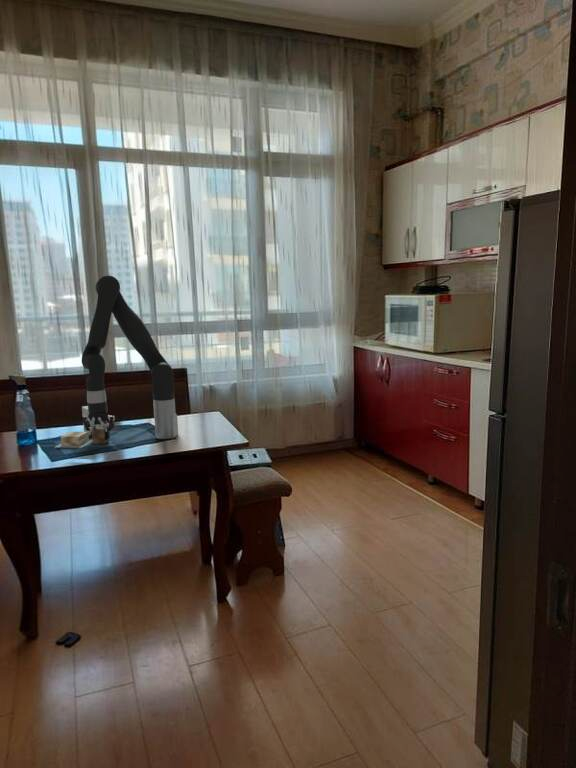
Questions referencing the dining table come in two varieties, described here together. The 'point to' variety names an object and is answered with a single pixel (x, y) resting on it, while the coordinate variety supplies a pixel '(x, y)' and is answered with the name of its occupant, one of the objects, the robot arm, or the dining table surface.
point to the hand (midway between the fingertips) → (100, 439)
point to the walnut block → (98, 435)
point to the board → (76, 446)
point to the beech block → (74, 438)
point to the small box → (86, 413)
